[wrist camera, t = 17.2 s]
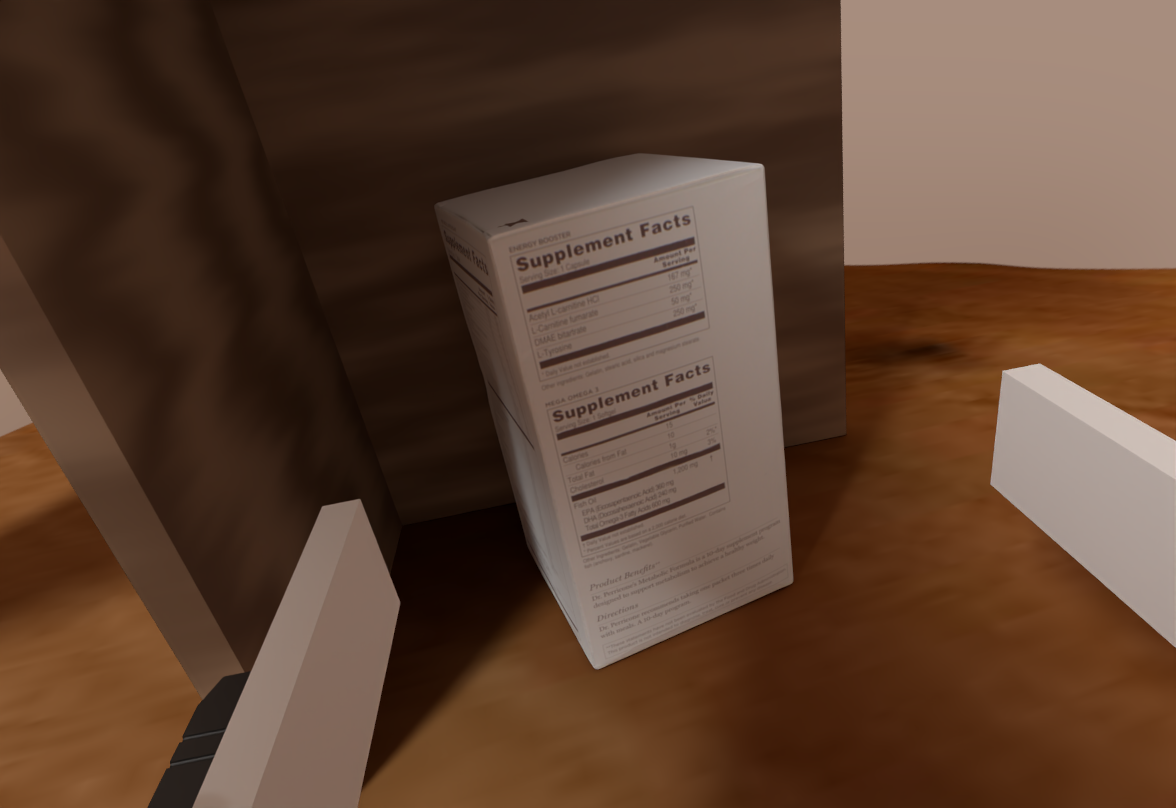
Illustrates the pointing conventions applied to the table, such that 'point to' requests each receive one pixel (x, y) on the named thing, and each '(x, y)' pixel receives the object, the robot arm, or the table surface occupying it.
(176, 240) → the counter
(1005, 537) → the table surface
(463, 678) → the table surface
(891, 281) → the table surface
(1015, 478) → the robot arm
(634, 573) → the supplement box
